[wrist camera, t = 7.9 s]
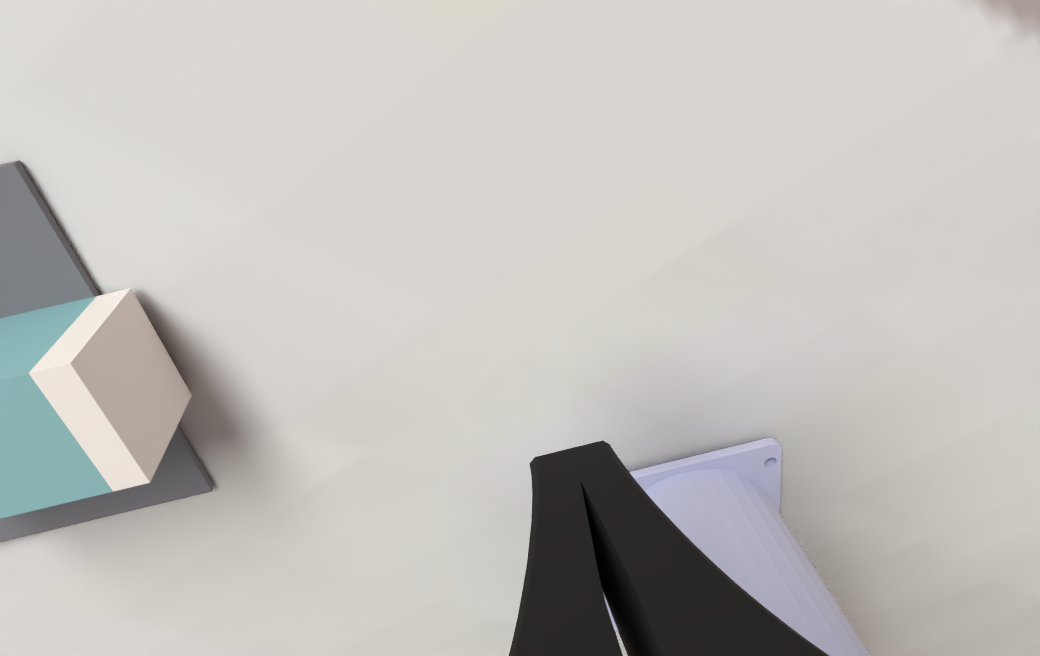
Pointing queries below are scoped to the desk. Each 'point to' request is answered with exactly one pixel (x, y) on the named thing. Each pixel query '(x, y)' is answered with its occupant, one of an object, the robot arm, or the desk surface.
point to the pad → (53, 281)
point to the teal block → (83, 401)
